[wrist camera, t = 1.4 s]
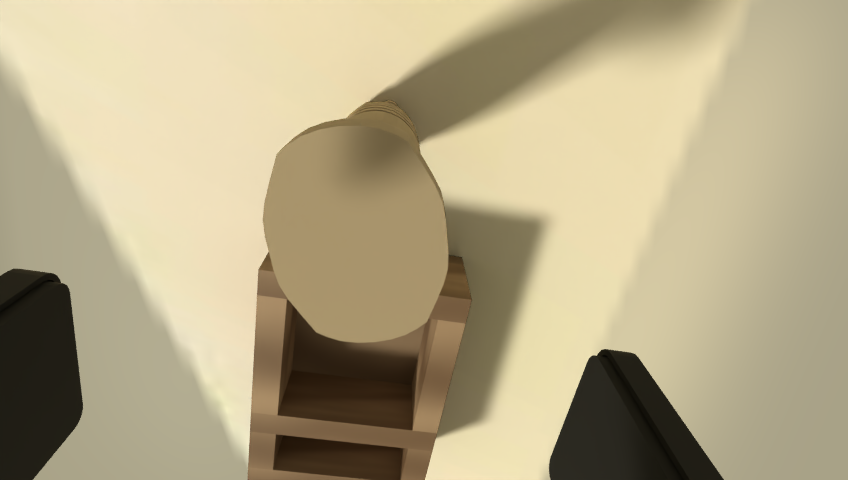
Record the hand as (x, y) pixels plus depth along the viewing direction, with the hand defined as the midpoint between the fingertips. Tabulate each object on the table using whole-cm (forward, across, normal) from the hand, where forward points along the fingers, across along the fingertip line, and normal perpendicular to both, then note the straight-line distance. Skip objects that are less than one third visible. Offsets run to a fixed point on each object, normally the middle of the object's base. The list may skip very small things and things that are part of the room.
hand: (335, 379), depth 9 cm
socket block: (+20, 0, +14) cm, 25 cm away
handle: (+20, 0, -1) cm, 20 cm away
